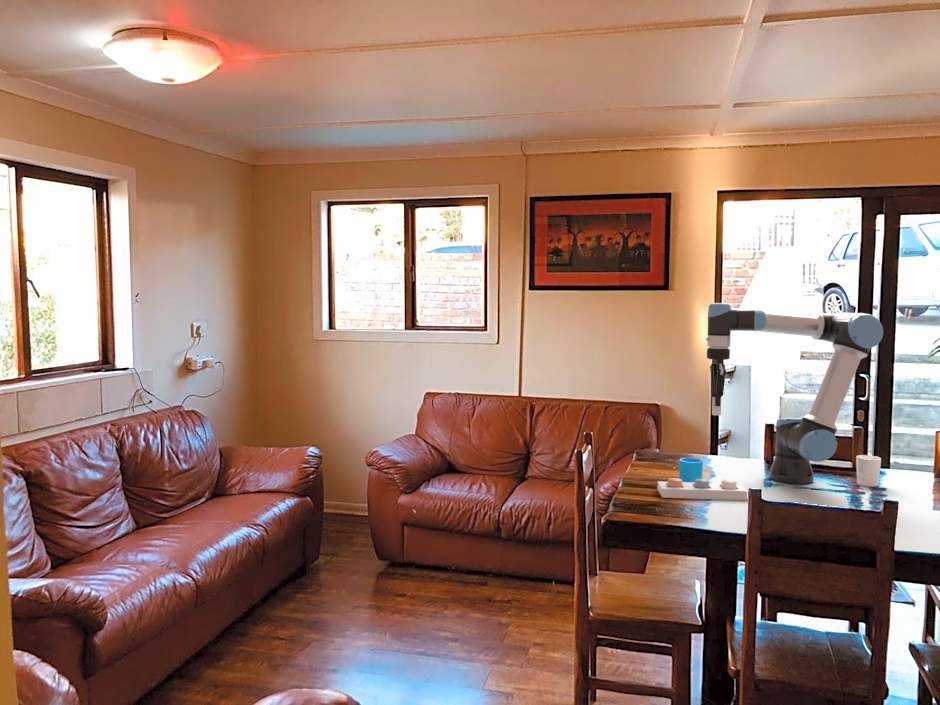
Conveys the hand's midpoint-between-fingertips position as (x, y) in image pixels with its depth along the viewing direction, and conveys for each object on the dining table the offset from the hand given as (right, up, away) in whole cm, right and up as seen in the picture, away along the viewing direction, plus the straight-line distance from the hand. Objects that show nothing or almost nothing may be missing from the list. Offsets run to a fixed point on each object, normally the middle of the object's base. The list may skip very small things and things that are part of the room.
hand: (716, 414), depth 256 cm
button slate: (-7, -26, -5) cm, 27 cm away
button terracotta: (-16, -26, -4) cm, 31 cm away
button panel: (-7, -27, -5) cm, 28 cm away
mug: (-6, -26, +14) cm, 30 cm away
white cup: (+58, -26, +9) cm, 64 cm away
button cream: (+2, -26, -6) cm, 27 cm away
